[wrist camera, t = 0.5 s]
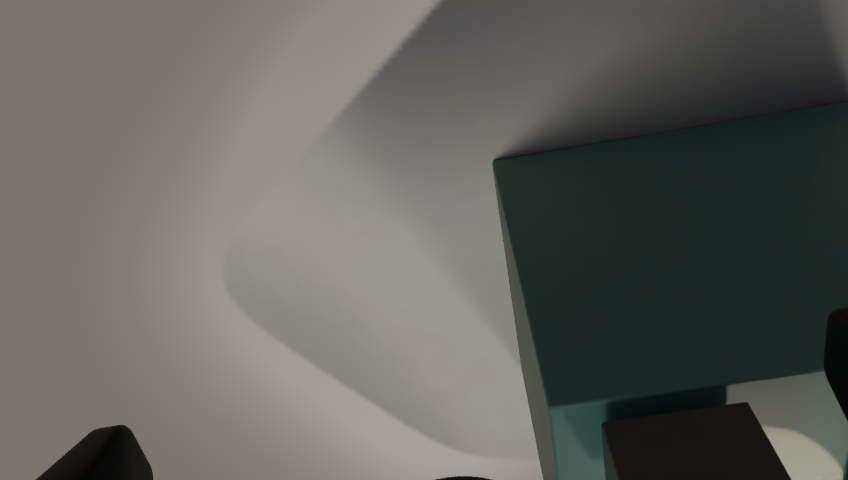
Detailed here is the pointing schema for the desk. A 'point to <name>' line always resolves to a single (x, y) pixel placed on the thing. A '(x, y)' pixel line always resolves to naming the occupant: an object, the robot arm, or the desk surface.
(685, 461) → the slide button
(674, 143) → the toaster
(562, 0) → the desk surface
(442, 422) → the desk surface
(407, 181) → the desk surface
